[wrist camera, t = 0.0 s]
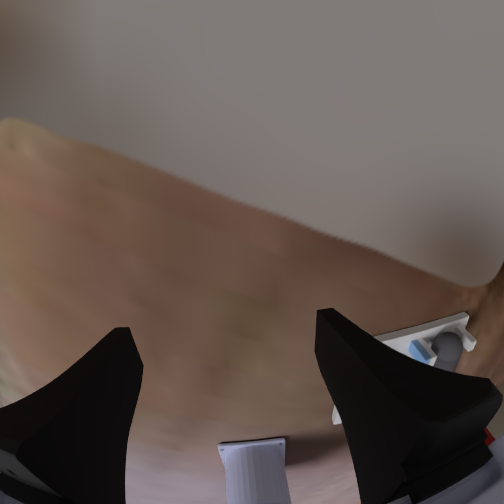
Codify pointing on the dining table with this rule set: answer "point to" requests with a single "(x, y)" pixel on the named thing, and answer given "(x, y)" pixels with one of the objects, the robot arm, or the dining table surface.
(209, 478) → the dining table surface
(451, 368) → the dark grey capsule
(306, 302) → the dining table surface
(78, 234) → the dining table surface
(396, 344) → the board
